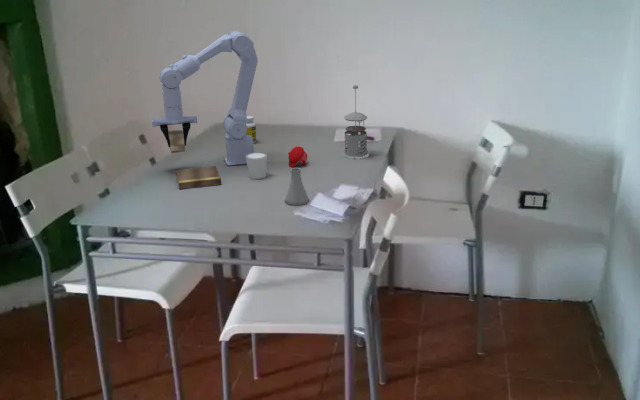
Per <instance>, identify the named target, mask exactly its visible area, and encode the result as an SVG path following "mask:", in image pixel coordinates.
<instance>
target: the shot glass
mask: <svg viewBox="0 0 640 400" xmlns="http://www.w3.org/2000/svg"><path fill="white" fill-rule="evenodd" d="M246 161H247V164H246V166H247V172H248V177H249V178H250V179H252V180H258V179H260V180H261V179H264V178H267V177H266V176H267V165H268V163H267V162H268V155H267V154H266V153H263V152H254V153H251V154H248V155H246Z"/></svg>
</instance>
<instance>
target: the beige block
mask: <svg viewBox="0 0 640 400" xmlns="http://www.w3.org/2000/svg"><path fill="white" fill-rule="evenodd" d="M168 132H169V140H170V146H171V147H169V149H170V153H171V154H176V153H185V152H186V146H185V145H184V135H183V129H173V130H168Z"/></svg>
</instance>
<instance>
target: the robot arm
mask: <svg viewBox="0 0 640 400" xmlns="http://www.w3.org/2000/svg"><path fill="white" fill-rule="evenodd" d="M232 52H234V53H235V54H236V55H237V57H238V58H239V60H240V61H241V63H240V68H239V73H238V76H237V81H236V85H235V89H234V95H233V99H232V104H231V107H230V108H229V110H228V112H227V115H226V117H225V118H224V120H223V122H222V126H223V129H224V130H225V132H226V133H225V136H224V138H225V140H224V141H225V151H226V157H224V160H225V163H226V165H227V166H228V167H229V166H236V165H237V166H238V165H247V161H246V155H248V154H251V153H255V148H254V143H253V139H252V136H246V133H247V125H246V121H247V116H248V115H247V109H248V106H249V105H248V104H249V100H250V96H251V92H252V88H253V83H254V79H255V75H256V71H257V66H258V62H259V60H258V59H259V58H258V55H257V52H256V49H255V46H254V42H253V40H252V39H251V38H250V36H249V35H247V34H246V33H242V32H241V31H240V30H235V29H234V30H231V31H230V32H228V33H226V34H223V35H222V36H220V37H219V38H217V39H216V40H215V41H213V42H212V43H210V44H209V45H208V46H206V47H205V48H204V49H202V50H200V51H199V52H198V53H196V54H195V55H193V54H187V55H186V54H184V55H182V56H181V58H182V59H180V60H178V61H177V62H175V63H174V64H173V63H171V64H170V65H169V67H166V68H164V69H162V70H161V71H160V75H159V80H160V82H161V83H162V84H161V85H162V86H161V87H162V100H163V107H164V117H163V118H157V119H151V125H152V128H156V127H159V129H160V130H161V132H162V134H163V136H164V137H165V140H166V142H167V147H168V148H170V147H171V146H170V140H169V132H168V131H169V127H168V126H175V125H181V126H182V131H183V135H184V145H185V147H186V146H187V140H188V136H189V135H188V134H189V132H190V129H191V124H198V117H197V116H196V115H195V116H193V115H192V116H184V115H183V113H184V112H183V104H182V96H181V95H182V94H181V93H182V92H181V90H180V85H181V82H182V81H185V80H186V79H187V78H190V77H191V76H192V75H194V74H195V73H197V72H198V71H200V69H201V68H200V67H201V65H202V64H204V63H205V62H207V61H208V60H210V59H212V58H214V57H216V56H217V55H218V54H220V53H232Z"/></svg>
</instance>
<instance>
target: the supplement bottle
mask: <svg viewBox="0 0 640 400" xmlns="http://www.w3.org/2000/svg"><path fill="white" fill-rule="evenodd" d="M254 119H255V118H254V116H251V115H247V121H246V125H247V133H246V136H252V139H253V144H256V143H257V124H256V122H254V121H255V120H254Z"/></svg>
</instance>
